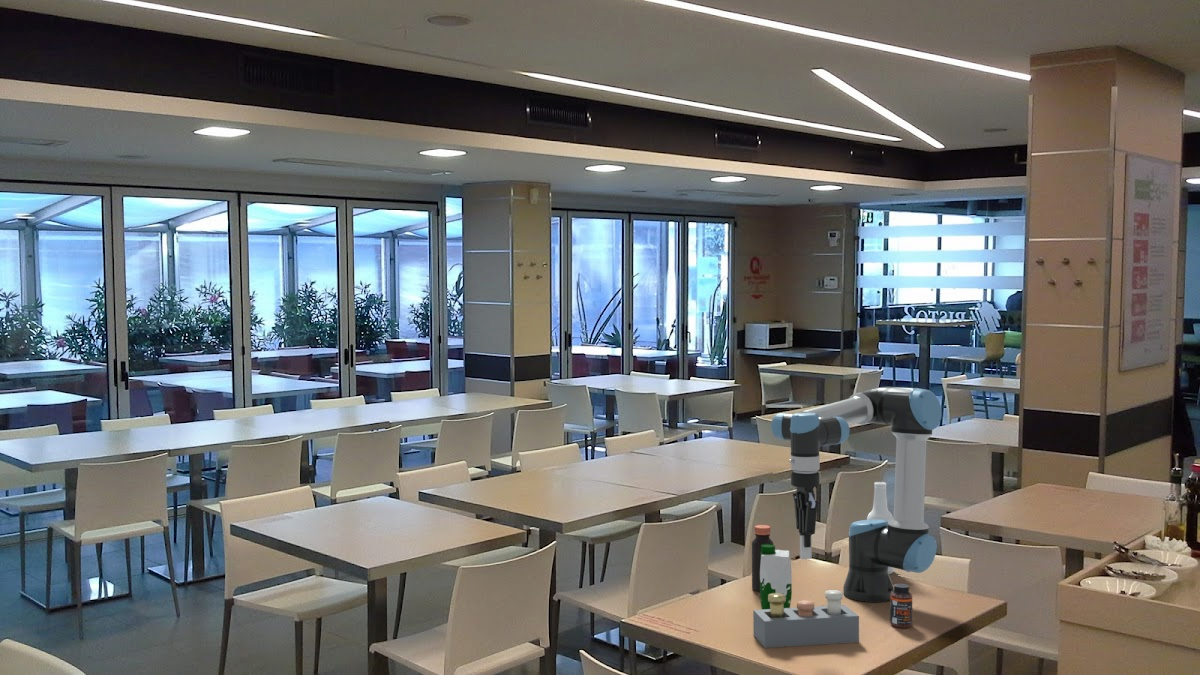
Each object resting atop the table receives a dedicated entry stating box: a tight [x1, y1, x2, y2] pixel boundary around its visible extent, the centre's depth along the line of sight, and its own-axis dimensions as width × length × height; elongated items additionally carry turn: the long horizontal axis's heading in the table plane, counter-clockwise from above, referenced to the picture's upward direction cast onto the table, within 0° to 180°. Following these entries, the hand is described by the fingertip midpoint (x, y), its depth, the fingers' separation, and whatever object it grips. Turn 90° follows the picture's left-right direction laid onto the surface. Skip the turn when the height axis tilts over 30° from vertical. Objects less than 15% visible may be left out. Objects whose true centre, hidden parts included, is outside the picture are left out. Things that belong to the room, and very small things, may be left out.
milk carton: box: [759, 544, 793, 610], centre depth 292 cm, size 9×9×20 cm
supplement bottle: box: [889, 583, 913, 629], centre depth 280 cm, size 6×6×11 cm
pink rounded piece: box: [796, 599, 815, 617], centre depth 270 cm, size 5×5×7 cm
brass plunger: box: [768, 593, 786, 618], centre depth 269 cm, size 5×5×7 cm
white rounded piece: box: [824, 589, 844, 615], centre depth 271 cm, size 5×5×7 cm
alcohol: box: [866, 481, 895, 575], centre depth 336 cm, size 9×9×30 cm
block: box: [752, 604, 860, 649], centre depth 270 cm, size 26×10×7 cm, turn 98°
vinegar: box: [751, 524, 774, 593], centre depth 317 cm, size 7×7×20 cm
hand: (805, 558), depth 270 cm, fingers closed
